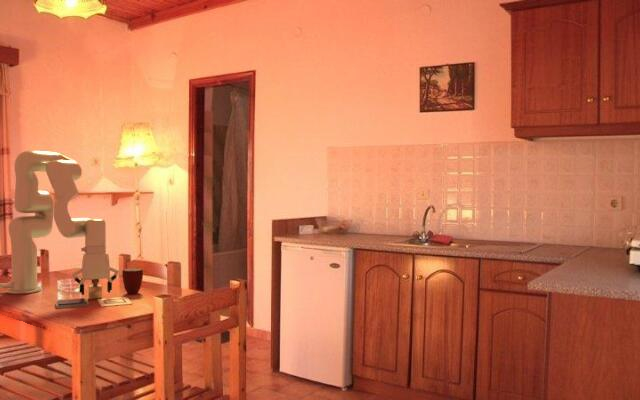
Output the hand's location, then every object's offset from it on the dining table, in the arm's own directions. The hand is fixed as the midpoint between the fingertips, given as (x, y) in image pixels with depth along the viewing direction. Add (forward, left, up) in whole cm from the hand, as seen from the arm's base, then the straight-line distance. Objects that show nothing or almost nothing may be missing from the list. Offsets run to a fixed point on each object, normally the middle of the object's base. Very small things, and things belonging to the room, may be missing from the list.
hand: (95, 293), depth 222 cm
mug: (+15, +7, -3) cm, 17 cm away
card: (+6, -9, -2) cm, 11 cm away
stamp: (0, +1, -2) cm, 2 cm away
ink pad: (-9, -8, -2) cm, 12 cm away
